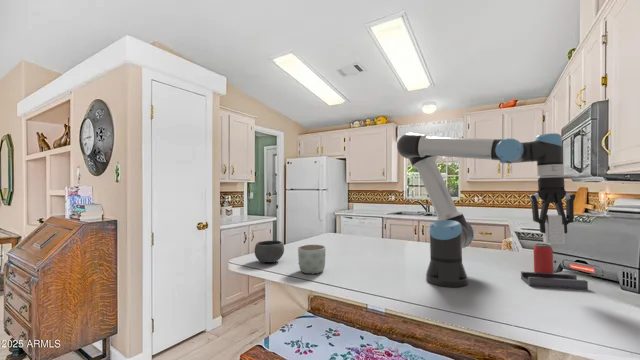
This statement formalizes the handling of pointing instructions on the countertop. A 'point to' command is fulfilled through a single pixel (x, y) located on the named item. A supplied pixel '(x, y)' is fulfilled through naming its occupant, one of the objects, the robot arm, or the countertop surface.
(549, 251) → the beer can
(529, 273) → the dark grey tray
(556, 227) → the grey rectangular block
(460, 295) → the countertop surface
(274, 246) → the bowl
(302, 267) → the planter
